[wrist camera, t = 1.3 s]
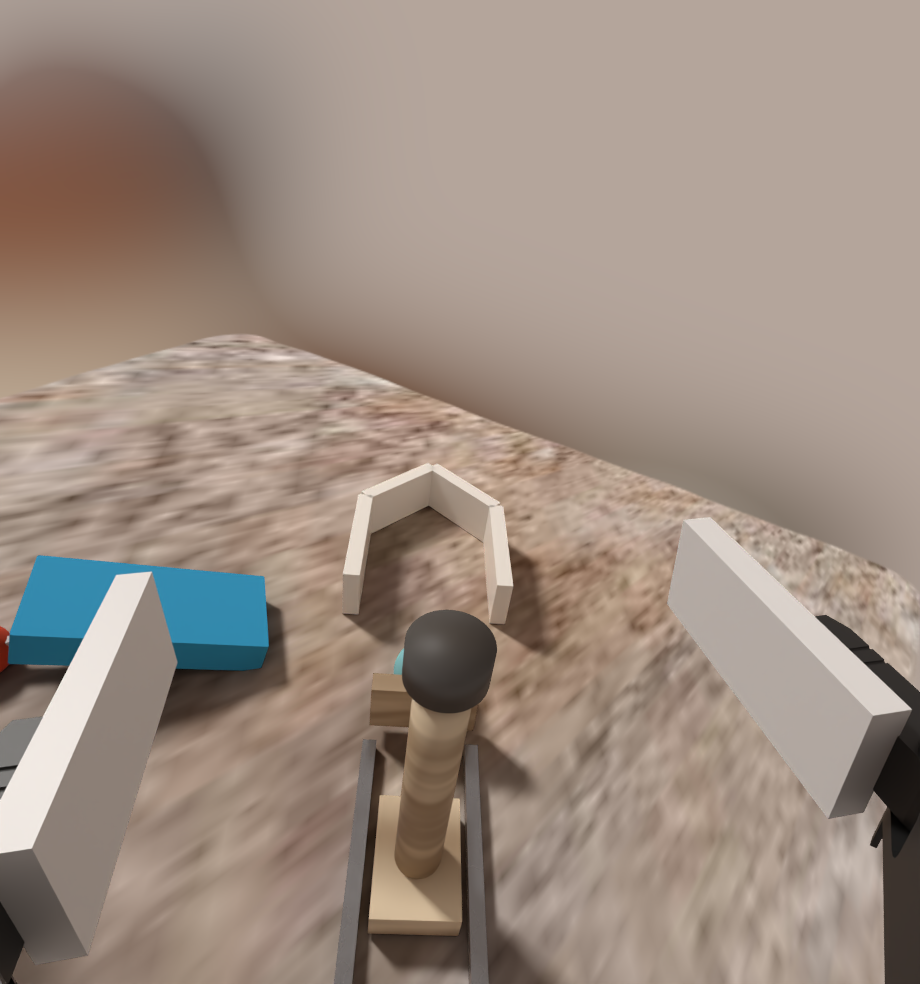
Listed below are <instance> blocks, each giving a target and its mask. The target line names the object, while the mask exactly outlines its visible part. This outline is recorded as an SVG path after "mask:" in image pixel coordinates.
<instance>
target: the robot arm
mask: <svg viewBox="0 0 920 984" xmlns="http://www.w3.org/2000/svg"><path fill="white" fill-rule="evenodd" d="M667 604H668V606H669V607H670V608H671V610H672V611H673V612H674V614H675V615H676V616H677V618H678V619H679V620H680V622H681V623H682V624H683V626H684V627H685V628H686V630H687V631H688V632H689V634H690V635H691V636H692V638H693V639H694V640H695V642H696V643H697V644H698V646H699V647H700V648H701V650H702V651H703V652H704V654H705V655H706V656H707V658H708V659H709V660H710V662H711V663H712V664H713V666H714V667H715V668H716V670H717V671H718V672H719V674H720V675H721V676H722V678H723V679H724V680H725V682H726V683H727V684H728V686H729V687H730V688H731V690H732V691H733V692H734V694H735V695H736V696H737V698H738V699H739V700H740V702H741V703H742V704H743V706H744V707H745V708H746V710H747V711H748V712H749V714H750V715H751V716H752V718H753V719H754V720H755V722H756V723H757V724H758V726H759V727H760V729H761V730H762V731H763V733H764V734H765V735H766V737H767V738H768V739H769V741H770V742H771V743H772V745H773V746H774V747H775V749H776V750H777V751H778V753H779V754H780V755H781V757H782V758H783V759H784V761H785V762H786V763H787V765H788V766H789V767H790V769H791V770H792V771H793V773H794V774H795V775H796V777H797V778H798V779H799V781H800V782H801V783H802V785H803V786H804V787H805V789H806V790H807V791H808V793H809V794H810V795H811V797H812V798H813V799H814V801H815V802H816V803H817V805H818V806H819V807H820V809H821V810H822V811H823V813H824V814H825V815H826V817H827V818H828V819H830V818H836V817H841V816H847V815H852V814H857V813H863V812H864V811H865V808H866V806H867V804H868V802H869V800H870V798H871V796H872V794H873V792H874V791H875V793H876V794H877V795H878V796H879V797H880V799H881V800H882V801H883V802H884V803H885V804H886V806H887V809H886V811H885V813H884V815H883V817H882V819H881V821H880V823H879V825H878V827H877V829H876V831H875V833H874V835H873V837H872V840H871V843H870V846H873V847H875V848H877V846H878V844H879V842H880V840H881V839H883V890H884V955H885V984H920V692H919V691H918V690H917V689H916V688H915V687H914V686H913V685H912V684H910V683H909V682H908V681H907V680H906V679H905V678H904V677H903V676H902V675H901V674H899V673H898V672H897V671H896V670H895V669H894V668H893V667H892V666H891V665H890V664H888V663H885V662H884V659H883V658H882V657H881V656H880V655H879V654H877V653H876V652H875V651H874V650H873V649H869V645H868V644H867V643H865V642H864V641H863V640H862V639H861V638H860V637H859V636H858V635H857V634H856V633H854V632H853V631H852V630H851V629H850V628H848V627H846V626H844V625H843V624H841V623H839V622H837V621H836V620H834V619H832V618H830V617H829V616H827V615H822V616H814V615H812V614H811V613H810V612H809V611H808V610H807V609H806V608H805V607H804V606H803V605H802V604H801V603H800V602H799V601H798V600H797V599H796V598H795V597H794V596H793V595H791V594H790V593H789V592H788V591H787V590H786V589H785V588H784V587H783V586H782V585H781V584H780V583H779V582H778V581H777V580H776V579H775V578H774V577H773V576H772V575H771V574H769V573H768V572H767V571H766V570H765V569H764V568H763V567H762V566H761V565H760V564H759V563H758V562H757V561H756V560H755V559H754V558H753V557H752V556H751V555H750V554H748V553H747V552H746V551H745V550H744V549H743V548H742V547H741V546H740V545H739V544H738V543H737V542H736V541H735V540H734V539H733V538H732V537H731V536H730V535H729V534H727V533H726V532H725V531H724V530H723V529H722V528H721V527H720V526H719V525H718V524H717V523H716V522H715V521H714V520H713V519H712V518H711V517H708V518H697V519H687V520H683V525H682V530H681V535H680V540H679V545H678V550H677V556H676V561H675V566H674V571H673V576H672V581H671V586H670V592H669V597H668V602H667ZM176 665H177V659H176V655H175V652H174V648H173V645H172V641H171V637H170V634H169V630H168V627H167V623H166V620H165V616H164V613H163V609H162V605H161V602H160V598H159V595H158V591H157V588H156V584H155V581H154V577H153V573H152V572H142V573H132V574H122V575H116V576H115V578H114V580H113V582H112V584H111V586H110V588H109V590H108V592H107V594H106V596H105V598H104V600H103V602H102V604H101V606H100V607H99V609H98V611H97V613H96V615H95V617H94V619H93V621H92V623H91V625H90V627H89V629H88V631H87V633H86V635H85V637H84V639H83V640H82V642H81V644H80V646H79V648H78V650H77V652H76V654H75V656H74V658H73V660H72V662H71V664H70V666H69V668H68V670H67V671H66V673H65V675H64V677H63V679H62V681H61V683H60V685H59V687H58V689H57V691H56V693H55V695H54V697H53V699H52V701H51V703H50V704H49V706H48V708H47V710H46V712H45V714H44V716H43V717H36V718H28V719H20V720H13V721H11V722H10V723H9V724H8V725H7V726H6V727H5V728H4V729H3V730H2V731H1V732H0V984H17V983H16V981H15V980H14V978H13V976H12V974H13V971H14V968H15V966H16V963H17V961H18V958H19V956H20V953H21V950H22V948H23V946H24V948H25V949H26V951H27V953H28V954H29V956H30V958H31V959H32V961H33V963H34V964H35V965H39V964H44V963H50V962H55V961H60V960H66V959H71V958H77V957H82V956H88V953H89V950H90V947H91V943H92V940H93V937H94V934H95V930H96V927H97V924H98V921H99V917H100V914H101V911H102V907H103V904H104V901H105V898H106V894H107V891H108V888H109V885H110V881H111V878H112V875H113V871H114V868H115V865H116V862H117V858H118V855H119V852H120V849H121V845H122V842H123V839H124V836H125V832H126V829H127V826H128V822H129V819H130V816H131V813H132V809H133V806H134V803H135V800H136V796H137V793H138V790H139V786H140V783H141V780H142V777H143V773H144V770H145V767H146V764H147V760H148V757H149V754H150V750H151V747H152V744H153V741H154V737H155V734H156V731H157V728H158V724H159V721H160V718H161V714H162V711H163V708H164V705H165V701H166V698H167V695H168V692H169V688H170V685H171V682H172V678H173V675H174V672H175V669H176Z"/></svg>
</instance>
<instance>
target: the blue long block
mask: <svg viewBox="0 0 920 984" xmlns="http://www.w3.org/2000/svg"><path fill="white" fill-rule="evenodd" d="M142 572H152V573H153V577H154V581H155V584H156V588H157V591H158V595H159V598H160V602H161V605H162V609H163V613H164V616H165V620H166V623H167V627H168V630H169V634H170V637H171V641H172V645H173V648H174V652H175V655H176V659H177V665H176V669H205V670H240V671H244V670H251V669H257V668H261V667H262V665H263V662H264V659H265V656H266V653H267V650H268V647H269V640H268V625H267V610H266V595H265V580H264V577H263V576H254V575H243V574H232V573H222V572H211V571H200V570H190V569H179V568H168V567H158V566H147V565H137V564H126V563H115V562H105V561H94V560H83V559H73V558H62V557H51V556H41V555H39V556H37V558H36V561H35V564H34V567H33V570H32V572H31V575H30V578H29V581H28V584H27V586H26V589H25V592H24V595H23V598H22V600H21V603H20V606H19V609H18V611H17V614H16V617H15V620H14V623H13V625H12V628H11V631H10V633H9V632H8V631H7V630H6V629H5V628H3V627H1V626H0V672H2V671H3V670H4V669H5V668H6V667H7V666H8V665H9V664H29V665H65V666H70V664H71V662H72V660H73V658H74V656H75V654H76V652H77V650H78V648H79V646H80V644H81V642H82V640H83V639H84V637H85V635H86V633H87V631H88V629H89V627H90V625H91V623H92V621H93V619H94V617H95V615H96V613H97V611H98V609H99V607H100V606H101V604H102V602H103V600H104V598H105V596H106V594H107V592H108V590H109V588H110V586H111V584H112V582H113V580H114V578H115V576H116V575H122V574H132V573H142Z"/></svg>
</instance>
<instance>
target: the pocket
mask: <svg viewBox="0 0 920 984" xmlns="http://www.w3.org/2000/svg"><path fill="white" fill-rule="evenodd" d="M427 506H430V507H432V508H433V509H434V510H436V511H437V512H439V513H440V514H442V515H443V516H445V517H446V518H448V519H449V520H451V521H452V522H454V523H455V524H457V525H458V526H460V527H461V528H463V529H464V530H466V531H467V532H468V533H470V534H471V535H473V536H474V537H476V538H477V539H479V540H480V541H482V542H483V547H484V560H485V572H486V585H487V598H488V611H489V623H492V624H505V622H506V617H507V613H508V608H509V604H510V599H511V595H512V590H513V580H512V572H511V564H510V556H509V548H508V541H507V533H506V525H505V517H504V509H503V506H500V502H498V501H497V500H495V499H494V498H492V497H490V496H489V495H487V494H485V493H484V492H482V491H481V490H479V489H477V488H476V487H474V486H473V485H471V484H469V483H468V482H466V481H465V480H463V479H461V478H460V477H458V476H456V475H455V474H453V473H452V472H450V471H448V470H447V469H445V468H444V467H442V466H440V465H439V464H435V465H433V466H432V465H431V464H429V463H426V464H424V465H422V466H419V467H417V468H415V469H412V470H410V471H408V472H405V473H403V474H401V475H398V476H396V477H394V478H391V479H389V480H387V481H384V482H382V483H380V484H377V485H375V486H373V487H370V488H368V489H366V490H363V491H362V494H359V495H358V500H357V505H356V510H355V515H354V520H353V525H352V531H351V536H350V541H349V546H348V551H347V556H346V561H345V566H344V571H343V608H342V613H343V614H359V608H360V601H361V595H362V588H363V582H364V575H365V569H366V563H367V556H368V550H369V543H370V537H371V533H374V532H376V531H378V530H380V529H382V528H384V527H386V526H388V525H390V524H392V523H394V522H396V521H398V520H400V519H402V518H404V517H406V516H408V515H410V514H412V513H414V512H417V511H419V510H421V509H423V508H425V507H427Z"/></svg>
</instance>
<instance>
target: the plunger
mask: <svg viewBox="0 0 920 984" xmlns="http://www.w3.org/2000/svg"><path fill="white" fill-rule="evenodd" d="M496 653H497V645H496V640H495V637H494V635H493V633H492V632H491V630H490V629H489V628H488V627H487V626H486V625H485V624H484V623H483V622H482V621H480V620H479V619H478V618H476V617H474V616H472V615H470V614H467V613H464V612H460V611H455V610H438V611H433V612H430V613H427V614H425V615H423V616H421V617H419V618H418V619H417V620H415V621H414V622H413V623H412V625H411V626H410V627H409V629H408V631H407V633H406V637H405V645H404V655H403V666H402V675H396V674H379V673H373V682H372V691H371V709H370V725H377V726H396V727H409V730H408V738H407V747H406V756H405V765H404V773H403V782H402V791H401V796H387V795H380V798H379V809H378V821H377V832H376V843H375V855H374V866H373V877H372V889H371V900H370V911H369V923H368V933H369V934H408V935H446V936H458V935H459V931H460V928H461V924H462V892H461V841H460V799H455V798H453V797H454V792H455V787H456V782H457V777H458V772H459V767H460V762H461V757H462V752H463V747H464V742H465V737H466V732H467V730H472V731H473V728H474V723H475V718H476V713H477V709H478V704H479V703H480V702H481V701H482V700H483V698H484V697H485V696H486V694H487V692H488V689H489V685H490V681H491V676H492V672H493V667H494V663H495V658H496Z"/></svg>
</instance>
